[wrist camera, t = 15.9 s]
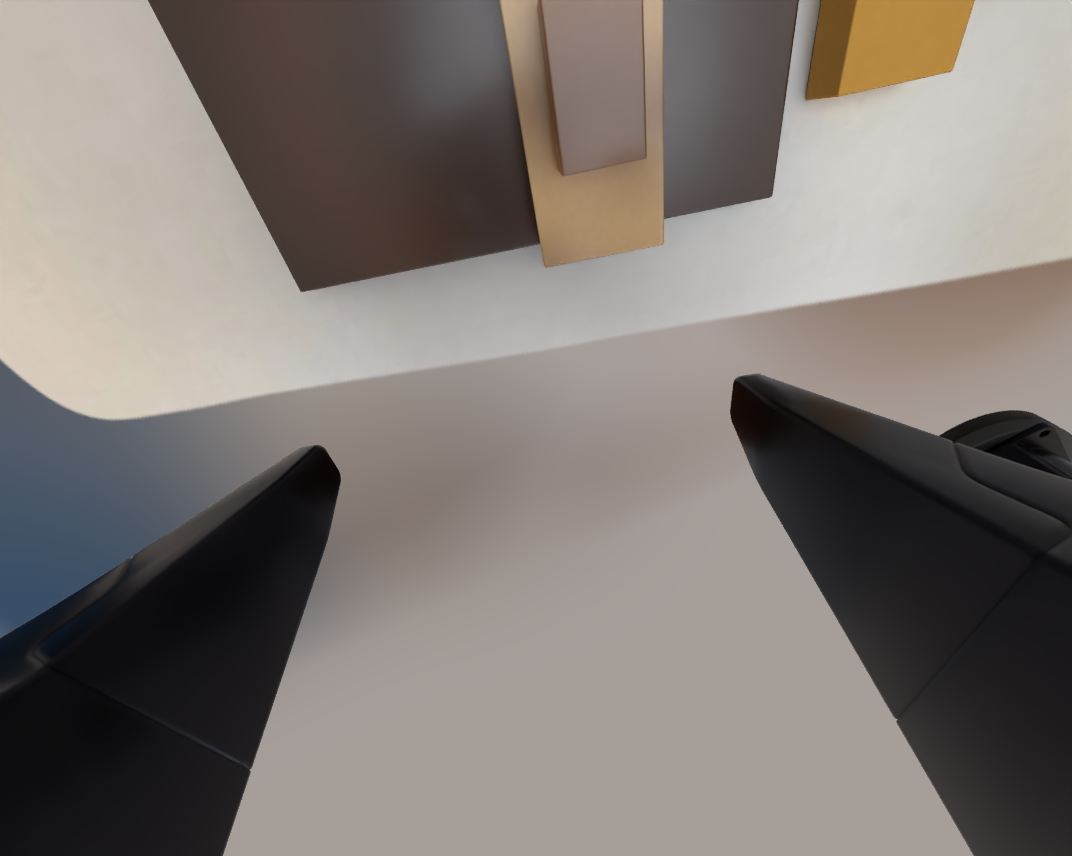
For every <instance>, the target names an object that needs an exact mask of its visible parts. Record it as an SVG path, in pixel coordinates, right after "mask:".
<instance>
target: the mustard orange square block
mask: <svg viewBox="0 0 1072 856" xmlns="http://www.w3.org/2000/svg"><path fill="white" fill-rule="evenodd" d="M974 1H975V0H821V6H820V12H819V18H818V25H817V31H816V37H815V43H814V50H813V56H812V62H811V69H810V75H809V81H808V87H807V94H806V100H811V99H821V98H830V97H839V96H843V95H848V94H852V93H857V92H861V91H866V90H870V89H875V88H880V87H884V86H889V85H893V84H898V83H902V82H907V81H911V80H916V79H920V78H925V77H929V76H934V75H938V74H943V73H947V72H951V71H952V70H953V67H954V64H955V61H956V58H957V55H958V52H959V48H960V45H961V42H962V39H963V36H964V33H965V29H966V26H967V23H968V20H969V17H970V14H971V10H972V7H973V4H974Z"/></svg>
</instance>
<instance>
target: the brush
mask: <svg viewBox="0 0 1072 856" xmlns="http://www.w3.org/2000/svg"><path fill="white" fill-rule="evenodd" d="M499 1H500V7H501V13H502V19H503V25H504V31H505V37H506V43H507V49H508V55H509V61H510V67H511V73H512V79H513V85H514V91H515V97H516V103H517V108H518V114H519V120H520V126H521V132H522V138H523V144H524V150H525V156H526V162H527V168H528V174H529V180H530V186H531V192H532V198H533V204H534V210H535V215H536V221H537V227H538V233H539V239H540V245H541V251H542V257H543V263H544V267H545V268H547V267H552V266H557V265H562V264H567V263H572V262H577V261H583V260H588V259H593V258H598V257H603V256H608V255H613V254H618V253H623V252H628V251H633V250H638V249H644V248H649V247H654V246H659V245H663V243H664V124H663V0H499Z"/></svg>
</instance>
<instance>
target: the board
mask: <svg viewBox="0 0 1072 856" xmlns="http://www.w3.org/2000/svg"><path fill="white" fill-rule="evenodd" d="M148 1H149V3H150V5H151V7H152V9H153V11H154V13H155V15H156V17H157V19H158V20H159V22H160V24H161V26H162V28H163V30H164V32H165V34H166V36H167V38H168V40H169V41H170V43H171V45H172V47H173V49H174V51H175V53H176V55H177V57H178V59H179V60H180V62H181V64H182V66H183V68H184V70H185V72H186V74H187V76H188V78H189V80H190V81H191V83H192V85H193V87H194V89H195V91H196V93H197V95H198V97H199V99H200V100H201V102H202V104H203V106H204V108H205V110H206V112H207V114H208V116H209V118H210V120H211V121H212V123H213V125H214V127H215V129H216V131H217V133H218V135H219V137H220V139H221V140H222V142H223V144H224V146H225V148H226V150H227V152H228V154H229V156H230V158H231V160H232V161H233V163H234V165H235V167H236V169H237V171H238V173H239V175H240V177H241V179H242V180H243V182H244V184H245V186H246V188H247V190H248V192H249V194H250V196H251V198H252V200H253V201H254V203H255V205H256V207H257V209H258V211H259V213H260V215H261V217H262V219H263V220H264V222H265V224H266V226H267V228H268V230H269V232H270V234H271V236H272V238H273V239H274V241H275V243H276V245H277V247H278V249H279V251H280V253H281V255H282V257H283V259H284V260H285V262H286V264H287V266H288V268H289V270H290V272H291V274H292V276H293V278H294V279H295V281H296V283H297V285H298V287H299V289H300V291H301V292H305V291H310V290H315V289H320V288H325V287H330V286H335V285H340V284H345V283H350V282H355V281H360V280H365V279H370V278H375V277H379V276H384V275H389V274H394V273H399V272H404V271H409V270H414V269H419V268H424V267H429V266H434V265H439V264H444V263H449V262H454V261H458V260H463V259H468V258H473V257H478V256H483V255H488V254H493V253H498V252H503V251H508V250H513V249H518V248H523V247H528V246H532V245H537V244H540V239H539V233H538V227H537V221H536V215H535V210H534V204H533V198H532V192H531V186H530V180H529V174H528V168H527V162H526V156H525V150H524V144H523V138H522V132H521V126H520V120H519V114H518V108H517V103H516V97H515V91H514V85H513V79H512V73H511V67H510V61H509V55H508V49H507V43H506V37H505V31H504V25H503V19H502V13H501V7H500V1H499V0H148ZM798 2H799V0H663V124H664V219H666V218H671V217H676V216H681V215H686V214H690V213H695V212H700V211H705V210H710V209H715V208H720V207H725V206H730V205H735V204H740V203H745V202H750V201H755V200H760V199H764V198H769V197H771V196H772V193H773V186H774V179H775V171H776V164H777V157H778V149H779V142H780V135H781V127H782V120H783V112H784V105H785V98H786V90H787V83H788V76H789V68H790V61H791V54H792V46H793V39H794V32H795V24H796V17H797V10H798Z"/></svg>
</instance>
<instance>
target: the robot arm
mask: <svg viewBox="0 0 1072 856" xmlns="http://www.w3.org/2000/svg"><path fill="white" fill-rule="evenodd" d="M730 414H731V419H732V423H733V425H734V428H735V430H736V432H737V435H738V437H739V439H740V442H741V444H742V447H743V449H744V451H745V454H746V456H747V459H748V461H749V463H750V466H751V468H752V470H753V473H754V475H755V477H756V479H757V481H758V483H759V485H760V487H761V489H762V491H763V492H764V494H765V496H766V497H767V499H768V501H769V503H770V504H771V506H772V508H773V510H774V511H775V513H776V515H777V516H778V518H779V520H780V522H781V523H782V525H783V527H784V529H785V530H786V532H787V534H788V535H789V537H790V539H791V541H792V542H793V544H794V546H795V548H796V549H797V551H798V553H799V554H800V556H801V558H802V560H803V561H804V563H805V565H806V566H807V568H808V570H809V572H810V573H811V575H812V577H813V578H814V580H815V582H816V584H817V585H818V587H819V589H820V591H821V592H822V594H823V596H824V597H825V599H826V601H827V603H828V604H829V606H830V608H831V609H832V611H833V613H834V615H835V616H836V618H837V620H838V622H839V623H840V625H841V627H842V629H843V630H844V632H845V634H846V635H847V637H848V639H849V641H850V642H851V644H852V646H853V647H854V649H855V651H856V653H857V654H858V656H859V658H860V660H861V661H862V663H863V665H864V667H865V668H866V670H867V672H868V673H869V675H870V677H871V679H872V680H873V682H874V684H875V686H876V687H877V689H878V691H879V692H880V694H881V696H882V698H883V699H884V701H885V703H886V704H887V706H888V708H889V709H890V711H891V713H892V715H893V716H894V717H895V718H896V719H897V724H898V726H899V728H900V729H901V731H902V733H903V735H904V736H905V738H906V740H907V741H908V743H909V745H910V747H911V748H912V750H913V752H914V753H915V755H916V757H917V758H918V760H919V762H920V764H921V766H922V767H923V769H924V771H925V772H926V774H927V776H928V778H929V779H930V781H931V783H932V785H933V786H934V788H935V790H936V791H937V793H938V795H939V796H940V798H941V800H942V802H943V804H944V805H945V807H946V808H947V810H948V812H949V814H950V815H951V817H952V819H953V821H954V822H955V824H956V826H957V828H958V829H959V831H960V833H961V834H962V836H963V838H964V840H965V841H966V843H967V845H968V847H969V848H970V850H971V852H972V853H973V855H974V856H1072V463H1071V461H1070V459H1069V457H1068V455H1067V452H1066V450H1065V448H1064V446H1063V444H1062V442H1061V439H1060V437H1059V435H1058V433H1057V431H1056V429H1055V428H1054V427H1053V426H1051V425H1049V424H1048V423H1045V422H1042V423H1038V424H1036V425H1034V426H1032V427H1030V428H1028V429H1026V430H1024V431H1022V432H1020V433H1018V434H1016V435H1014V436H1012V437H1010V438H1008V439H1006V440H1004V441H1002V442H1000V443H999V444H997V445H995V446H993V447H991V448H989V449H987V450H985V451H980V450H977V449H974V448H971V447H969V446H966V445H963V444H960V443H955V444H953V442H952V441H951V440H948V439H945V438H942V437H939V436H937V435H934V434H931V433H928V432H925V431H922V430H919V429H916V428H913V427H910V426H908V425H905V424H902V423H899V422H896V421H893V420H890V419H887V418H885V417H882V416H879V415H876V414H873V413H870V412H867V411H864V410H861V409H858V408H856V407H853V406H850V405H847V404H844V403H841V402H838V401H835V400H833V399H830V398H827V397H824V396H821V395H818V394H815V393H812V392H810V391H807V390H804V389H801V388H798V387H795V386H792V385H789V384H786V383H784V382H781V381H778V380H775V379H772V378H769V377H766V376H763V375H760V374H750V375H744V376H739V377H737V378H736V379H735V381H734V383H733V391H732V400H731V409H730ZM340 482H341V477H340V473H339V470H338V469H337V467H336V465H335V464H334V462H333V461H332V459H331V458H330V456H329V454H328V453H327V451H326V450H325V448H324V447H322V446H320V445H313V446H307V447H302V448H300V449H298V450H297V451H295V452H293V453H292V454H290V455H289V456H287V457H286V458H284V459H283V460H281V461H279V462H278V463H276V464H275V465H273V466H272V467H270V468H269V469H267V470H266V471H264V472H262V473H261V474H259V475H258V476H256V477H255V478H253V479H252V480H250V481H248V482H247V483H245V484H244V485H242V486H241V487H239V488H237V489H236V490H234V491H233V492H232V493H230V494H228V495H227V496H225V497H224V498H222V499H220V500H219V501H217V502H216V503H214V504H213V505H212V506H210V507H208V508H206V509H205V510H203V511H202V512H200V513H199V514H197V515H196V516H194V517H193V518H191V519H189V520H188V521H186V522H185V523H183V524H182V525H180V526H179V527H177V528H175V529H174V530H172V531H171V532H169V533H168V534H166V535H165V536H163V537H162V538H160V539H159V540H157V541H155V542H154V543H152V544H151V545H149V546H148V547H146V548H145V549H143V550H141V551H140V552H138V553H137V554H135V555H134V556H133V558H129V559H127V560H126V561H124V562H123V563H121V564H120V565H118V566H116V567H115V568H113V569H112V570H110V571H109V572H107V573H106V574H104V575H102V576H101V577H99V578H98V579H96V580H94V581H93V582H91V583H90V584H88V585H87V586H85V587H83V588H82V589H80V590H79V591H77V592H75V593H74V594H72V595H71V596H69V597H67V598H66V599H64V600H62V601H61V602H59V603H58V604H56V605H54V606H53V607H51V608H49V609H48V610H46V611H45V612H43V613H41V614H40V615H38V616H36V617H35V618H33V619H31V620H30V621H28V622H26V623H25V624H23V625H21V626H20V627H18V628H16V629H15V630H13V631H11V632H10V633H8V634H6V635H5V636H3V637H1V638H0V856H223V854H224V850H225V848H226V845H227V841H228V838H229V836H230V833H231V830H232V826H233V824H234V821H235V817H236V815H237V811H238V809H239V806H240V802H241V800H242V797H243V793H244V790H245V788H246V784H247V782H248V778H249V776H250V769H251V768H252V766H253V762H254V759H255V757H256V753H257V751H258V748H259V744H260V742H261V739H262V736H263V732H264V729H265V727H266V723H267V721H268V718H269V714H270V712H271V709H272V706H273V703H274V700H275V697H276V694H277V691H278V688H279V685H280V682H281V679H282V676H283V673H284V670H285V667H286V664H287V661H288V658H289V655H290V652H291V649H292V646H293V643H294V640H295V637H296V634H297V631H298V628H299V625H300V622H301V619H302V616H303V613H304V610H305V607H306V604H307V600H308V598H309V595H310V592H311V589H312V586H313V582H314V580H315V577H316V574H317V571H318V568H319V565H320V562H321V559H322V556H323V553H324V550H325V547H326V543H327V540H328V536H329V532H330V528H331V523H332V519H333V514H334V509H335V505H336V500H337V496H338V490H339V486H340Z"/></svg>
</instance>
